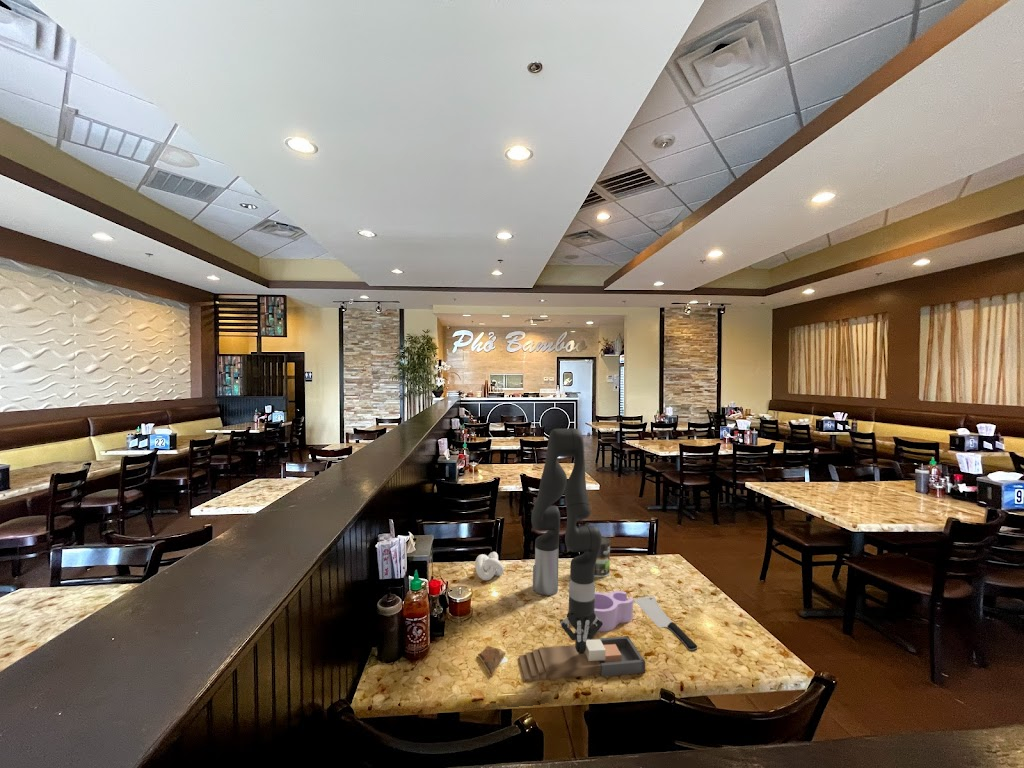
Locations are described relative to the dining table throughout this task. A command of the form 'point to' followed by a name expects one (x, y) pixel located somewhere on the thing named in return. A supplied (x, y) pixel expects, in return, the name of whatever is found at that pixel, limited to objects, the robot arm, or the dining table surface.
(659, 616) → the kitchen cleaver
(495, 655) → the shard
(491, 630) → the dining table surface
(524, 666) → the brown stairs
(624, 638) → the box
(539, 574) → the robot arm
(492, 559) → the white knot
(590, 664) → the board
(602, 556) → the coffee can
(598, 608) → the purple double cup holder
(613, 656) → the tile terracotta
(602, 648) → the tile cream
